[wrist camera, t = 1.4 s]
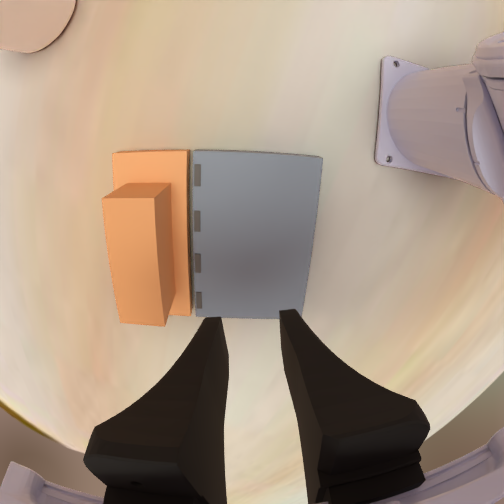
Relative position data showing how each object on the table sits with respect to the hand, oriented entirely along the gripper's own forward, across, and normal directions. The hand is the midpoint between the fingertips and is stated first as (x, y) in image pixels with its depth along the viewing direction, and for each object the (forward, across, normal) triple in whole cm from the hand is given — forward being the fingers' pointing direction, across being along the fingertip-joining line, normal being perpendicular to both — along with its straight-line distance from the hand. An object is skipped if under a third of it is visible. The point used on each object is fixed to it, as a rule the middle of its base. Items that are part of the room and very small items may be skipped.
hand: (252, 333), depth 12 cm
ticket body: (+10, 0, 0) cm, 10 cm away
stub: (+10, +6, -1) cm, 12 cm away
